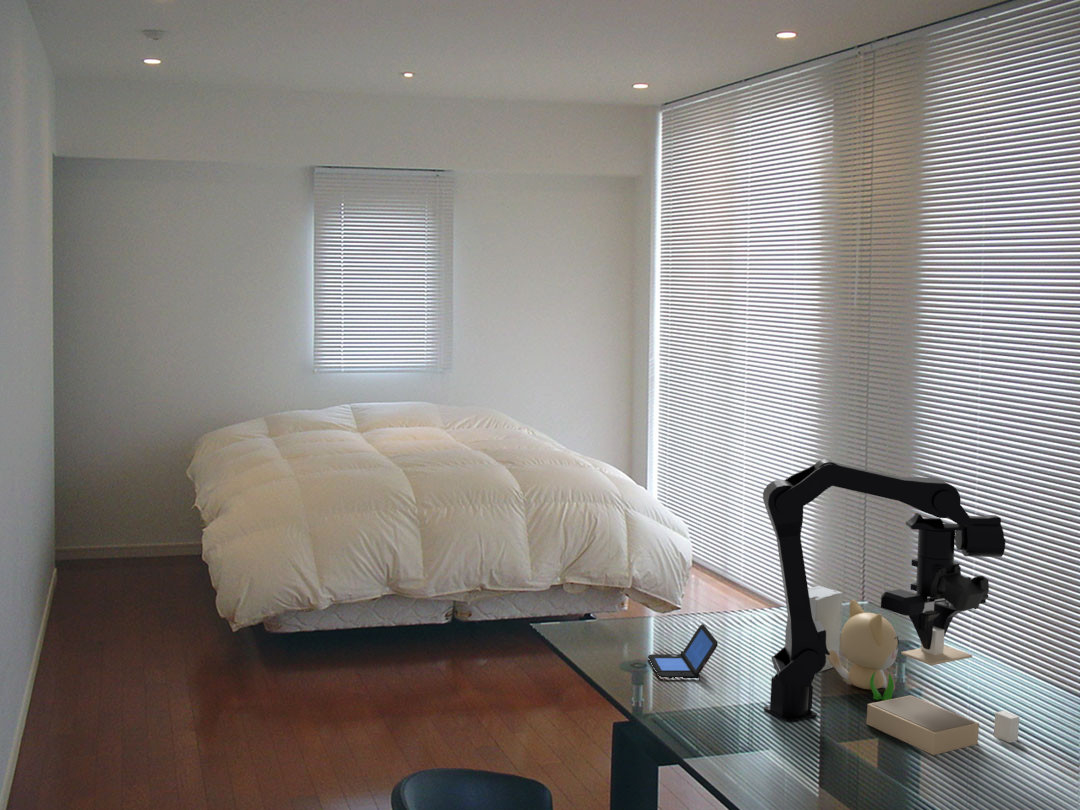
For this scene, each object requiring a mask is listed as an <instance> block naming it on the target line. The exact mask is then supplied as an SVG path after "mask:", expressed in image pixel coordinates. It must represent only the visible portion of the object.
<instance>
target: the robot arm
mask: <svg viewBox="0 0 1080 810" xmlns="http://www.w3.org/2000/svg"><path fill="white" fill-rule="evenodd" d="M831 487H836V488H840V489H845V490H849V491H854V492H857V493H863V494H866V495H871V496H875V497H881V498H884V499H889V500H894V501H896V502H900V503H903V504H904V505H905V504H906V505H907V506H910V507H912V508H914V509H916V510H918V511H920V512H923V513H926V514H928V515H931V516H933V517H935V518H933V517H923V516H922V515H921V514H920V513H918V512H915V513H914V515H913V516H912V517H911V518H909V519H908V520H907V521H906V522H905V525H906V526H907V527H908V528H910V530H916V531H917V530H918V531H917V532H918V534H917V554H916V555H917V558H915V559H913V558H912V559H911V566H912V567H916V582H914V583H913V582H912V583H910V590H911V591H913V592H911V591H907V590H904V589H901V588H900V589H891V590H887V591H884V592H883V593H882V594H881V596H880V608H881V609H883V610H887V611H890V612H893V613H896V614H899V615H902V616H906V617H907V616H908V617H909V619H910V621H911V623H912V625H913V626H914V629H915V632H916V634H917V635H918V638H919V641H920V644H921V643H922V645H923V648H925V649H927V650H928V649H930V646H931V641H932V632H933V626H934V627H937V628H940V629H943V630H944V638H945V636H946V634H947V631H948V629H949V626H950V624H951V622H952V621H953V619H954V617H955V616H957V615H958V614H959V613H961V612H967V610H973V609H974V610H977V609H979V607H980V605H981V604H986V603H987V602H986V601H987V599H988V598H989V592H990V584H989V582H990V581H989V579H988V578H987V577H985V576H984V575H979V576H974V577H972V578H971V577H970V576H967V577H965V576H963V575H962V573H961V572H962V571H961V570H962V569H961V566H960V563H959V562H955V547H956V550H957V551H961V553H962V555H963V556H964V557H971V558H974V557H975V558H977V557H978V558H979V557H980V558H982V557H983V558H1002V557H1003V555H1004V553H1005V549H1006V538H1005V535H1004V529H1003V527H1002V517H999V516H998V515H995V514H994V515H991V514H989V515H985V516H984V515H983V516H981V515H969V513H967V511H966V510H965V508H964V507H963V506H962V504H961V499H962V498H961V495H960V492H959V491H958V489H957V487H955V486H953V485H952V484H951V483H948V482H946V481H944V480H943V479H940V478H936V477H925V476H923V477H922V476H921V477H920V476H912V477H911V476H909V477H905V476H904V477H903V476H896V475H891V474H887V473H882V472H878V471H874V470H871V469H870V470H869V469H865V468H860V467H857V466H851V465H849V464H848V465H847V464H843V463H839V462H835V461H832V460H831V459H827V458H826V459H825V458H824V459H820V460H818V461H817V462H816V463H815V464H812V465H811V466H809V467H807V468H805V469H803V470H800V471H798V472H796V473H794V474H792V475H790V476H789V477H787V478H785V479H775V480H773V481H771V482H770V483H769V484H767V485H766V487H765V488H764V489H763V492H762V499H763V503H764V507H765V509H766V513H767V515H768V516H767V517H768V519H769V521H770V523H771V527H772V529H773V532H774V534H775V537H776V543H777V544H776V545H777V552H778V557H779V559H778V560H779V565H780V572H781V579H782V584H783V591H784V598H785V604H786V612H787V620H786V626H785V637H784V638H785V639H784V646H783V647H782V648H781V649H780V650H779V651H777V652H776V653H775V654H774V655H773V656H772V657H771V662H772V665H773V669H774V670H775V672H776V674H774V676H771V680H770V681H771V683H770V699H769V700H770V703H769V705H765V706H763V710H764V711H766V712H768V713H769V714H771V715H774V716H775V717H777V718H779V719H782V720H784V721H785V722H789V723H791V722H796V721H800V720H805V719H810V718H811V719H812V718H816V717H818V713H817V712H816V711H813V710H812V709H813V696H814V686H813V681H814V678H815V676H816V675H817V674H819V673H821V672H822V671H821V670H822V668H823V667H824V666H825V664H826V655H825V654H827V655H830V653H829V652H828V650H827V647H826V631H825V629H824V628H823V626H822V625H821V623H820V621H817V622H814V621H813V618H812V613H811V606H810V599H809V592H808V589H809V586H808V580H807V572H806V566H805V558H804V553H803V546H802V538H801V537H802V535H801V534H802V529H803V522H804V507H805V506H806V505H808V504H810V503H811V502H813V501H814V500H816V499H817V498H818V497H819V496H820V495H821V494H823V493H824V492H825V491H826V490H828V489H830V488H831ZM942 519H949V520H951V522H952V521H953V522H954V523H944V521H943V520H942ZM914 592H916V593H914ZM820 671H821V672H820Z"/></svg>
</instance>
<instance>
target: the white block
mask: <svg viewBox="0 0 1080 810" xmlns="http://www.w3.org/2000/svg"><path fill="white" fill-rule="evenodd" d="M1019 726H1020V716H1018V715H1017V714H1014V713H1011V712H1008V711H1006V710H1001V711H996V712H995V713H994V728H993V737H995V738H997V739H1000V740H1003V741H1004V742H1005V743H1006V742H1007V743H1010V742H1011V743H1013V742H1014V741H1015V742H1018V741H1019V728H1020V727H1019ZM1017 740H1018V741H1017ZM1015 742H1014V743H1015Z"/></svg>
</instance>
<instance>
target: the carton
mask: <svg viewBox="0 0 1080 810" xmlns="http://www.w3.org/2000/svg"><path fill="white" fill-rule="evenodd" d="M866 725H868V726H870V727H872V728H874V729H876V730H878V731H880V732H883V733H885V734H887V735H889V736H892V737H894V738H896V739H898V740H900V741H902V742H905V743H907V744H909V745H911V746H913V747H915V748H918V749H919V750H921V751H924V752H926V753H928V754H930V755H931V756H935V755H939V754H944V753H946V752H947V753H948V752H951V751H955V750H961V749H964V748H968V747H971V746H973V747H974V746H976V745H978V744H979V730H980V723H979V722H977V721H974V720H972V719H969V718H967V717H964V716H962V715H959V714H957V713H955V712H953V711H950V710H947V709H945V708H943V707H941V706H938V705H936V704H933V703H930V702H928V701H926V700H923V699H921V698H918V697H916V696H914V695H912V694H911V695H906V696H902V697H901V696H900V697H896V698H892V699H890V700H885V701H883V700H881V701H877V702H871V703H867V709H866Z"/></svg>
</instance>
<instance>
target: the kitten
mask: <svg viewBox="0 0 1080 810" xmlns="http://www.w3.org/2000/svg"><path fill="white" fill-rule="evenodd" d="M848 617H849V618H848V620H847V621H846V622H845V623H844V625H843V627H842V628H841V631H840V645H839V649H840V651H841V654H842V655H843V656H844V658H846V659H847V660H848V661H849V662H851V663H852V664H853V665H852V666H851V667H850V668H849V670H847V669H846V668H845V666H843V664H842V663H841V660H840V656H839V657H838V655H837V653H836V652H835V651H833V650H830V651H829V653H830V655H827V656H828V660H829V662H830V664H831V665H832V666H833V668H834V669H835V671H836V672H837V673H838V675H840V676H841V677H842V678H843V679H844V680H846V681H848V682H849V683H851V684H852V685H853V686H855V687H856V688H860V689H863V690H871V691H872V694H873V700H876V701H877V700H881V701H885V700H890V699H893V693H894V688H895V684H894V680H893V678H892V675H891V673H890V672H889V673H888V679H887V677H886V673H885V672H884V670H886V669H887V668H890V667H891V666H892V665H893V664H894V663H895V661H896V659H897V656H898V651H899V645H900V640H899V636H897V633H896V631H895V628H894V627H893V625H892V624H891V622H889V621H888V620H887V618H886V617H884V616H882V614H881V613H873V612H865V611H864V609H863V607H862V606H861V605H860V603H859V602H858V601H857V600H856V599H852V600H850V602H849V615H848ZM881 688H882V689H885V690H884V693H883V695H882V694H881V693H880V691H879V689H881Z"/></svg>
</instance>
